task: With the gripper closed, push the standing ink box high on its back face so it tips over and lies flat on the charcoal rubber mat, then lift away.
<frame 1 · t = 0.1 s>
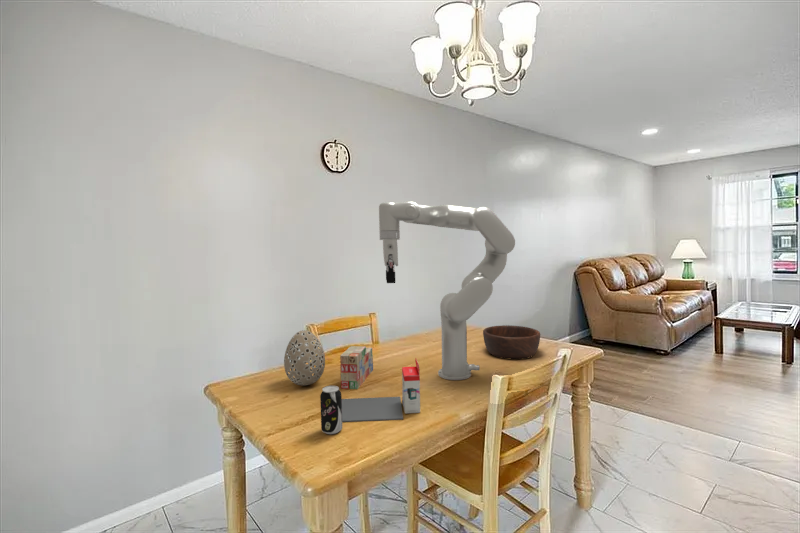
hand: (390, 281, 148), 37 cm above the table, tool pointing down, fingers open, 9 cm apart
stack of blocks: (358, 379, 150), on the table
ornament: (305, 384, 145), on the table
beverage can: (332, 431, 109), on the table
mat: (369, 409, 123), on the table
wooden bowl: (511, 353, 180), on the table
ink box: (411, 408, 123), on the table
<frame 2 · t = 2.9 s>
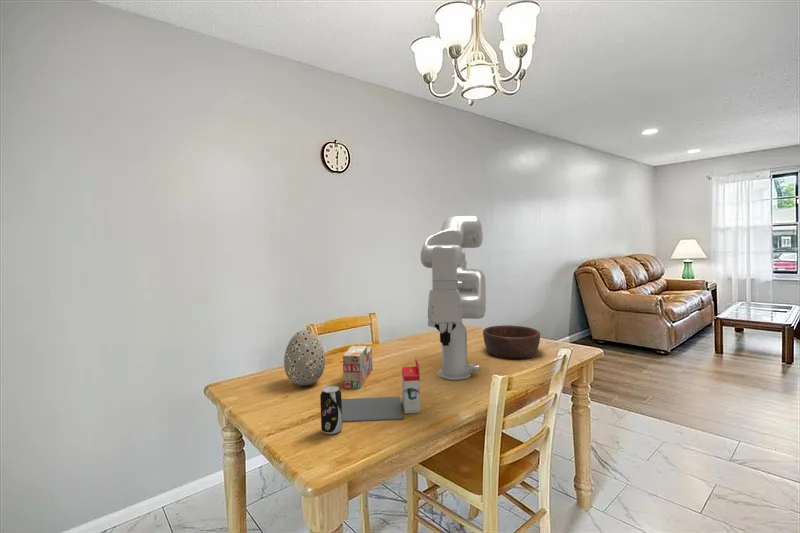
hand: (445, 344, 122), 20 cm above the table, tool pointing down, fingers closed
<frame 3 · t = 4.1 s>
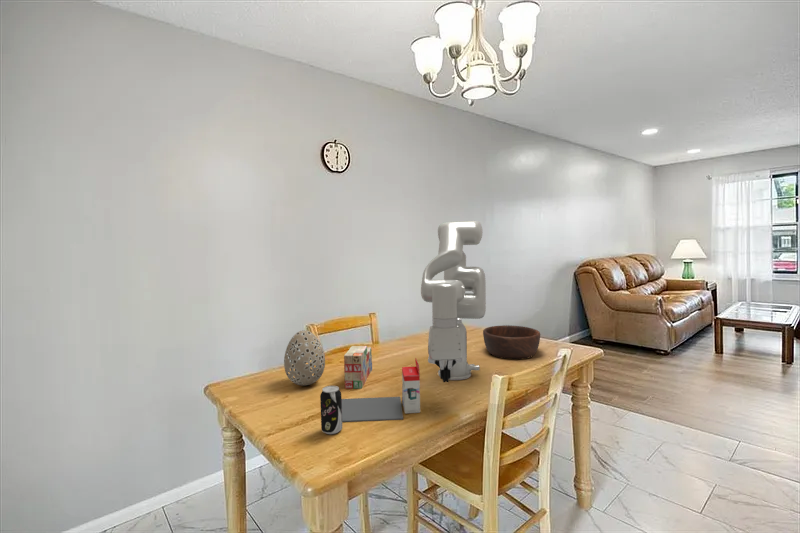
hand: (445, 380, 123), 8 cm above the table, tool pointing down, fingers closed
nothing on the table moved.
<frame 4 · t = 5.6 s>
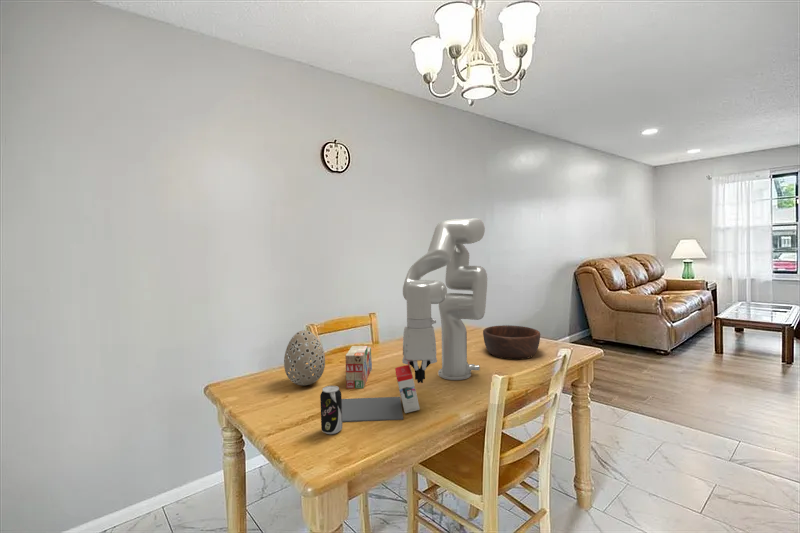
hand: (420, 381, 123), 8 cm above the table, tool pointing down, fingers closed
ink box: (411, 406, 123), on the table, touching gripper
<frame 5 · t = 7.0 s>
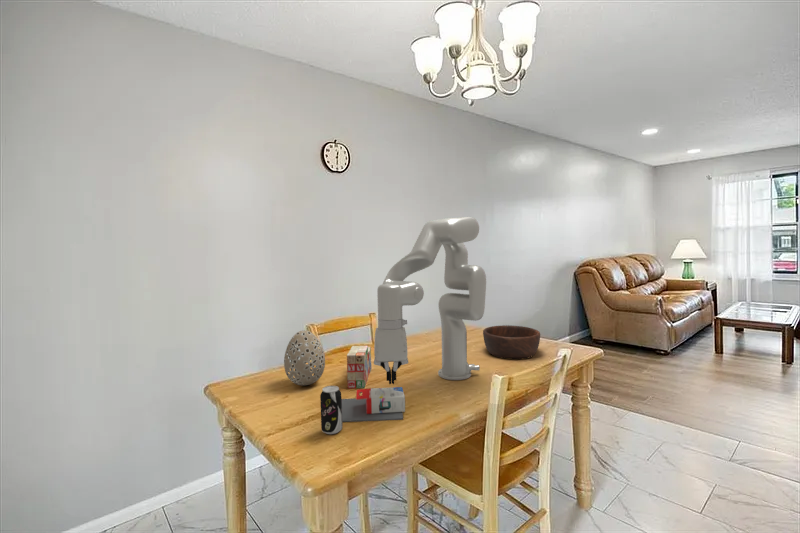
hand: (391, 382, 122), 8 cm above the table, tool pointing down, fingers closed
ink box: (404, 398, 123), point 3 cm above the table, touching mat
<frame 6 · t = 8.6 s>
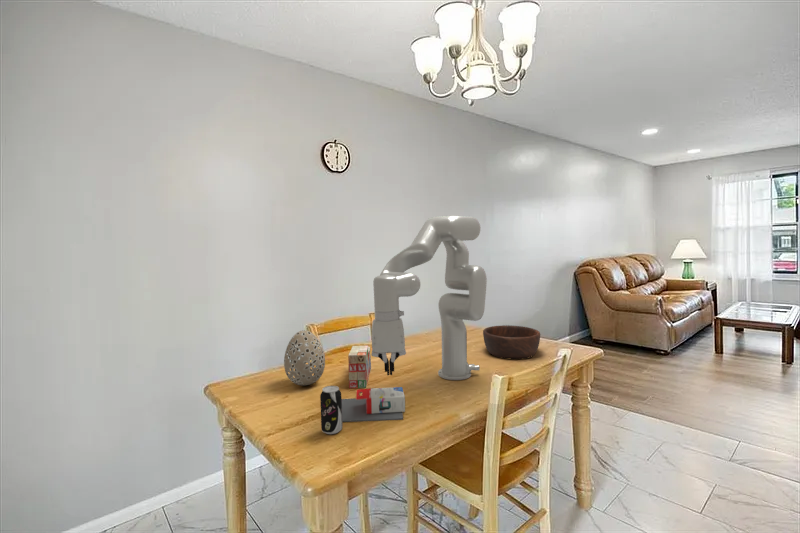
hand: (389, 373, 123), 11 cm above the table, tool pointing down, fingers closed
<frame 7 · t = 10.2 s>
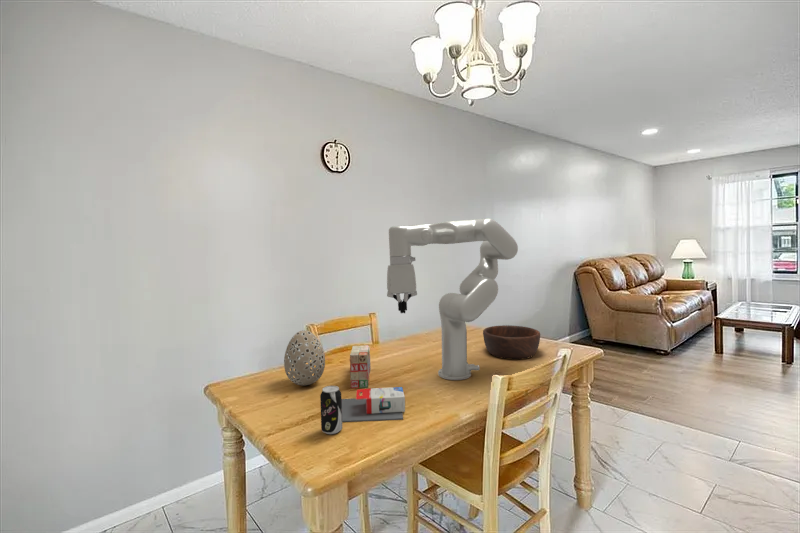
hand: (402, 312, 140), 26 cm above the table, tool pointing down, fingers closed
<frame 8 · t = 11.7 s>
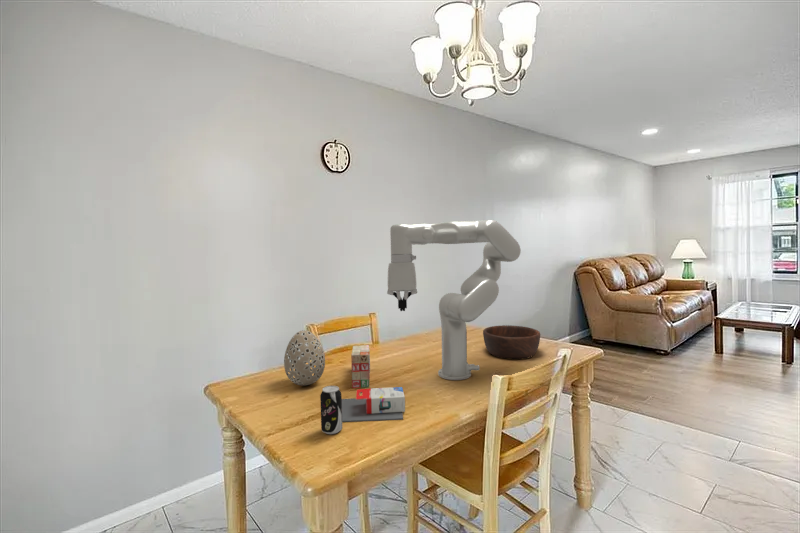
hand: (402, 310, 141), 27 cm above the table, tool pointing down, fingers closed
at the end: ink box tilted 90°; ink box inside the target area (7.9 cm from its centre), point 2.8 cm above the table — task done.
